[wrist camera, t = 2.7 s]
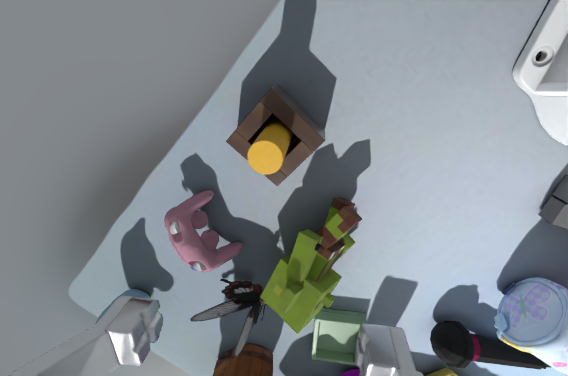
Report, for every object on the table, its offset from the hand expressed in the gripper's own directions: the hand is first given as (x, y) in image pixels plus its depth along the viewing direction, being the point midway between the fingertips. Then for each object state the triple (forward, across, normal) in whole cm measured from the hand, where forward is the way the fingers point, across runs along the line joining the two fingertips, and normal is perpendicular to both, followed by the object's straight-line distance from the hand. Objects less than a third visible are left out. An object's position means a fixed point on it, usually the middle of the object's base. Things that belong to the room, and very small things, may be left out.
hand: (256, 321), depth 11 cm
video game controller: (+23, +11, +11) cm, 28 cm away
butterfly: (+23, +5, +22) cm, 32 cm away
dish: (+23, -7, +29) cm, 38 cm away
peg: (+23, +2, -2) cm, 23 cm away
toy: (+23, -3, +12) cm, 26 cm away
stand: (+23, +2, -2) cm, 23 cm away
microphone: (+23, -29, +28) cm, 46 cm away
